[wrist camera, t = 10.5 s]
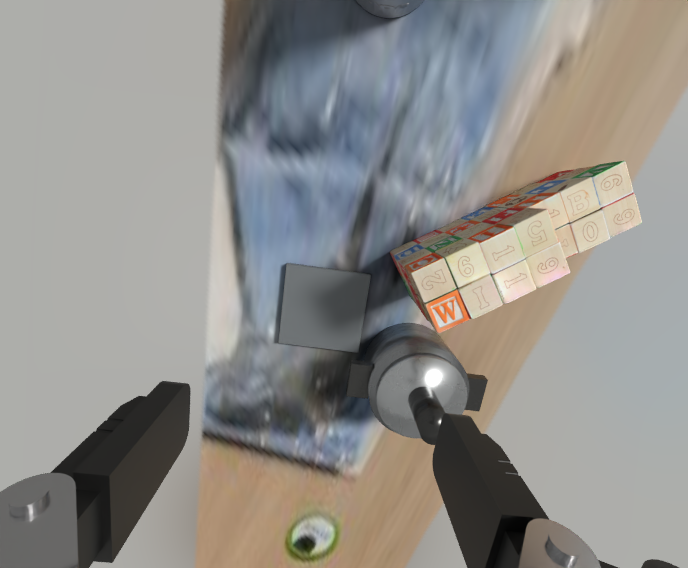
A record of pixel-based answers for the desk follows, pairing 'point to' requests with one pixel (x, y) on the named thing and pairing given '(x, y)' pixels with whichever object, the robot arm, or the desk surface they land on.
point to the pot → (397, 345)
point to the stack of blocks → (515, 243)
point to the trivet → (323, 307)
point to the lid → (420, 395)
